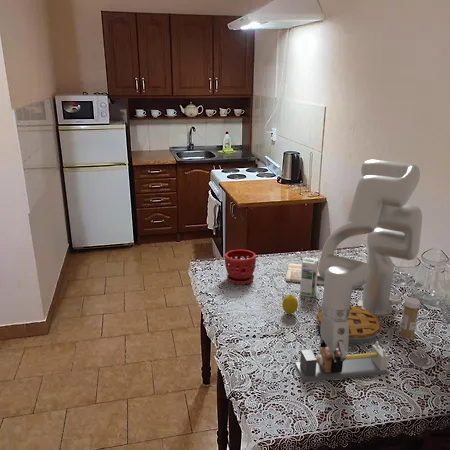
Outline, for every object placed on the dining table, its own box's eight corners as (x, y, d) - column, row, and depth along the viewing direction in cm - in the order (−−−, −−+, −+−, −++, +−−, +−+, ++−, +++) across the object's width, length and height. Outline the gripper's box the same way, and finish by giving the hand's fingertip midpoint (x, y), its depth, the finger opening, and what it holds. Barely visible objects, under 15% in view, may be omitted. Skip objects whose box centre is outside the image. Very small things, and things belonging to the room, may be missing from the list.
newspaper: (285, 282, 183) (286, 276, 182) (289, 265, 201) (289, 259, 200) (376, 292, 176) (376, 285, 175) (371, 272, 193) (372, 267, 193)
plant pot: (260, 278, 186) (261, 252, 182) (245, 289, 176) (246, 262, 172) (234, 271, 193) (235, 246, 189) (218, 281, 182) (218, 255, 178)
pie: (308, 313, 158) (309, 301, 156) (366, 312, 159) (367, 300, 158) (325, 348, 137) (326, 335, 135) (391, 346, 138) (393, 333, 137)
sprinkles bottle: (414, 340, 141) (420, 304, 137) (400, 338, 143) (405, 302, 138) (413, 333, 145) (419, 297, 141) (399, 331, 147) (404, 295, 142)
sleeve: (334, 360, 128) (336, 345, 127) (341, 370, 124) (343, 356, 122) (319, 361, 128) (320, 347, 126) (325, 372, 123) (326, 357, 121)
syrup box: (299, 295, 171) (301, 261, 167) (302, 289, 176) (304, 256, 172) (313, 297, 169) (316, 264, 164) (316, 291, 174) (319, 258, 170)
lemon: (296, 319, 154) (298, 299, 151) (281, 317, 155) (282, 297, 152) (297, 311, 159) (298, 292, 156) (282, 309, 160) (283, 290, 157)
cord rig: (376, 357, 132) (379, 338, 130) (389, 374, 125) (392, 353, 123) (295, 364, 129) (296, 344, 126) (303, 382, 121) (305, 361, 119)
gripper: (362, 325, 112) (355, 381, 118) (336, 294, 129) (331, 344, 134) (334, 327, 111) (329, 383, 117) (312, 296, 128) (308, 346, 133)
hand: (330, 362), depth 125 cm, fingers open, 8 cm apart
